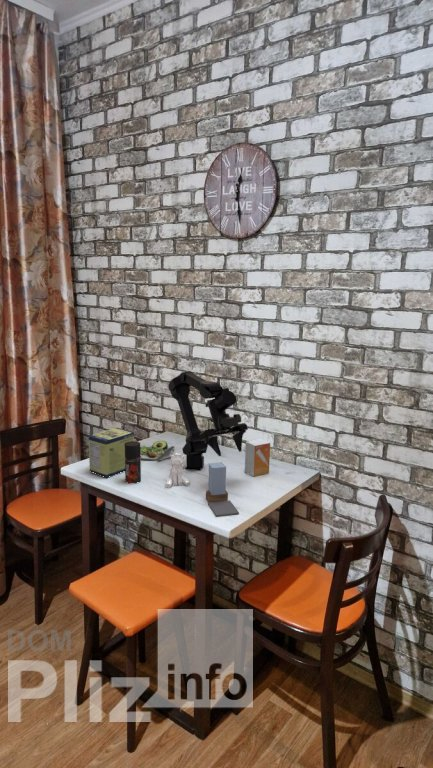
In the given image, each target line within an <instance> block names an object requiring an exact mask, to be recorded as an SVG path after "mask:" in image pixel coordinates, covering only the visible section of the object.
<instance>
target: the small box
mask: <svg viewBox="0 0 433 768" xmlns="http://www.w3.org/2000/svg"><path fill="white" fill-rule="evenodd" d="M244 446H245V450H244V473H246V474H248V475H249V476H252V477H257V476H261V475H266V474H270V461H271V460H270V458H271V442H270V441H268V440H265V439H263V438H259V439H258V438H257V439H253V440H249V441H245V445H244Z"/></svg>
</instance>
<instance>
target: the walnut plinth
mask: <svg viewBox="0 0 433 768" xmlns="http://www.w3.org/2000/svg"><path fill="white" fill-rule="evenodd" d="M228 498H229V493H228V491H227V490H226V494H220V495H211V493H210V492H209V490H208V489H207V490H205V500H206V502H208V503H211V502H220V501H229V499H228ZM208 503H207V504H208Z"/></svg>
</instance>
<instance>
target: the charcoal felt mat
mask: <svg viewBox="0 0 433 768" xmlns="http://www.w3.org/2000/svg"><path fill="white" fill-rule="evenodd" d="M207 505H208V507H209V508H210V509H211V511H212V513H213V514H214V516H215V517H216V518H218V517H227V516H237V515H240V512H239V511H238V509H237V507H236V506H235V505H234V504H233V502H232V501H231V500H228V501H220V502H211V503H207Z"/></svg>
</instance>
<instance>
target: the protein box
mask: <svg viewBox="0 0 433 768" xmlns="http://www.w3.org/2000/svg"><path fill="white" fill-rule="evenodd" d="M130 441H135V432H134V431H131V430H127V429H124V428H120V427H113V428H110V429H107V430H104V431H100V432H97V433H94V434H89V436H88V452H89V453H88V455H89V456H88V458H89V460H88V461H89V462H88V463H89V472H90V471H91V472H94V473H96V474H99V475H101V476H100V477H102V476H104V477H103V478H105V477H109V476H112V475H114V476H116V475H115V474H117V475H119V474H121V473H120V472H122V473H124V472H123V471H125V443H126V442H130ZM118 473H119V474H118ZM96 474H95V475H96ZM99 475H98V476H99ZM112 477H113V476H112ZM109 478H110V477H109Z"/></svg>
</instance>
